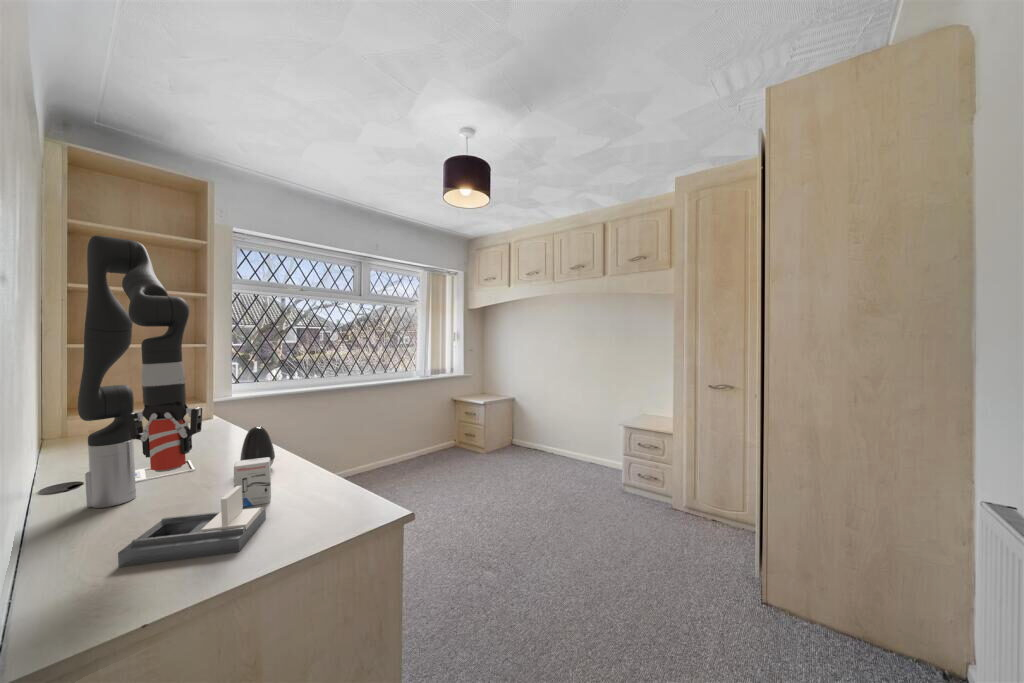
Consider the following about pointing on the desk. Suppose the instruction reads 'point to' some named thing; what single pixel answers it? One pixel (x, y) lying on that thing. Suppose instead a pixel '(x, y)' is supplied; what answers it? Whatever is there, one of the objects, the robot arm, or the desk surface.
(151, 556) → the socket plate
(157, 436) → the beverage can
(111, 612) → the desk surface
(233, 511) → the t-shaped bracket
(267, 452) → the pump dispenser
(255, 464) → the ink box
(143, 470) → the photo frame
